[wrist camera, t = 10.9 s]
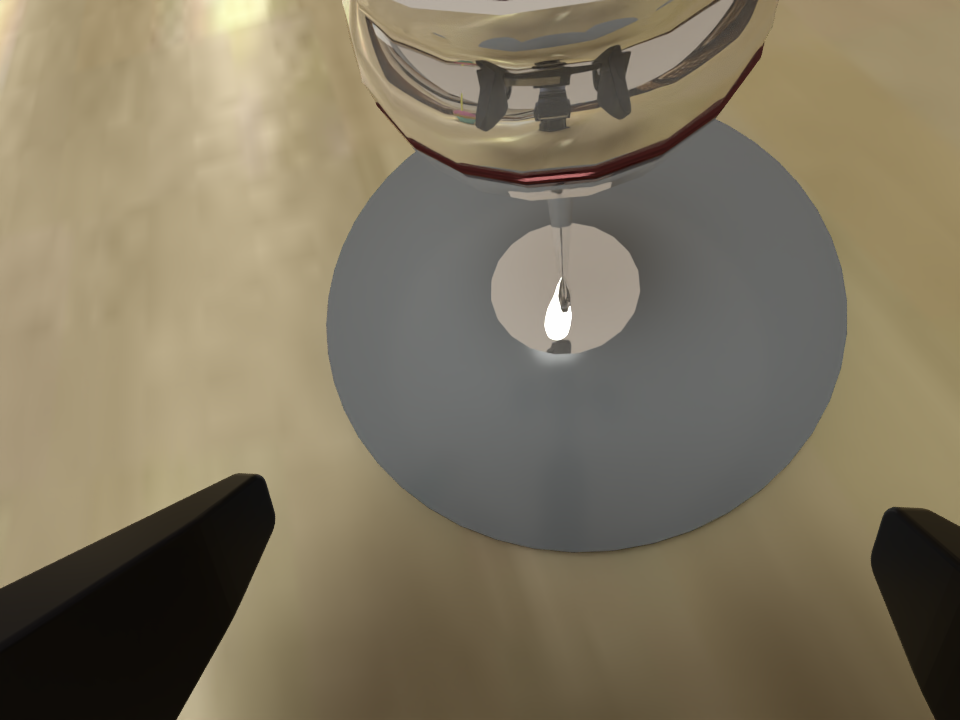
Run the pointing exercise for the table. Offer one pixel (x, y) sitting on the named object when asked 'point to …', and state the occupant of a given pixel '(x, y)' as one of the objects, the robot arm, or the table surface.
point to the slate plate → (592, 351)
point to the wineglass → (556, 123)
